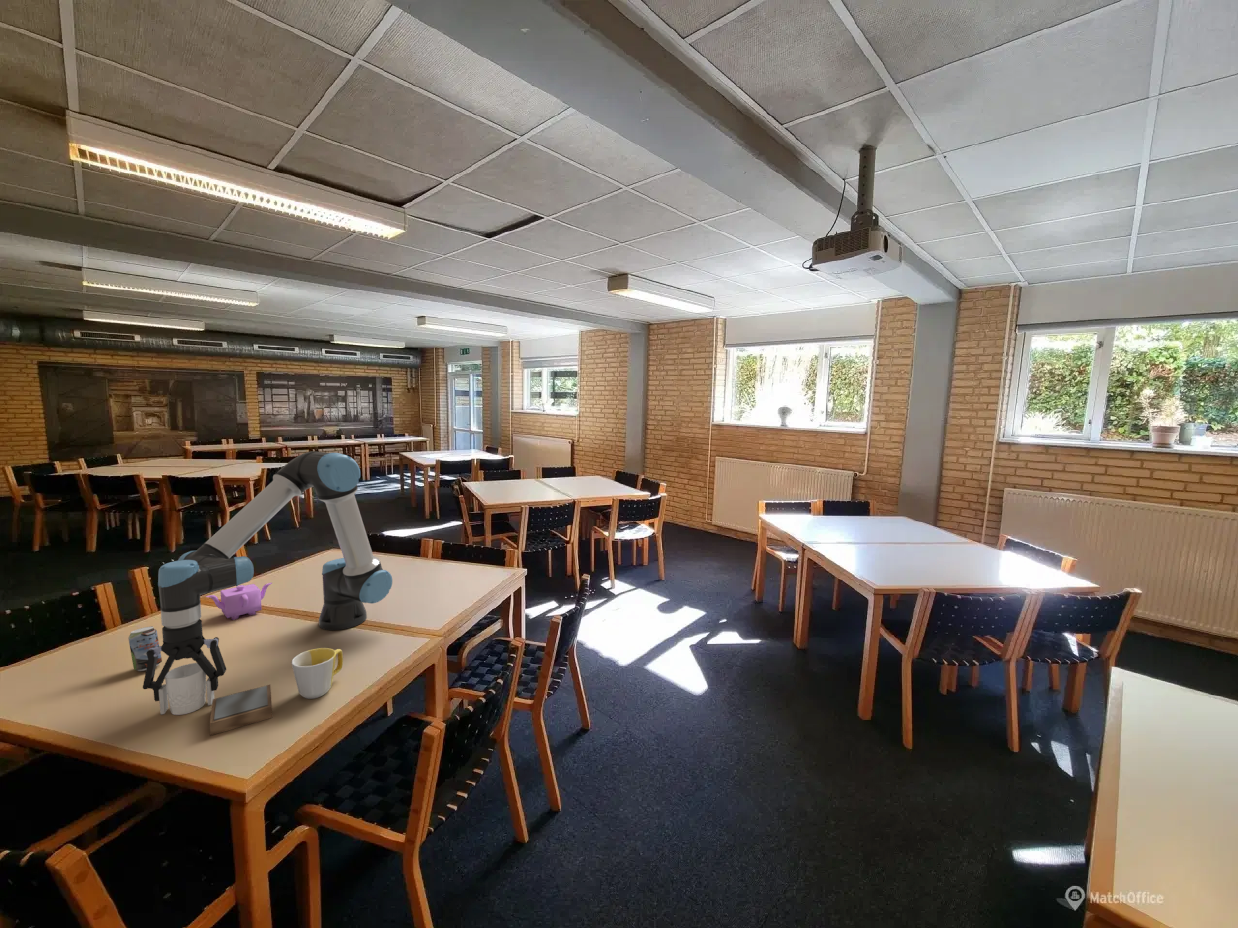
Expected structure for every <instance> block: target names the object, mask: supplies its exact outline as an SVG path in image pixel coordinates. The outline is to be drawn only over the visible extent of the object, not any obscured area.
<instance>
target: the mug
mask: <svg viewBox="0 0 1238 928" xmlns="http://www.w3.org/2000/svg"><path fill="white" fill-rule="evenodd" d="M343 655H344V654H343V650H342V649H340V648H337V649H333V648H330V647H329V648H328V647H320V648H319V647H318V648H314V649H309V650H305V651H303V652H301V653H299V654H297V655H296V656H294V657H293V659H292V660H291V667H292V671H293V675H294V679H295V684H296V686H297V690H298V694H299V695H300V696H301V697H303V698H304V699H307V700H308V699H309V700H310V699H317V698H320V697H323V696H324V695H326V694H327V693H328V691H330V689H331V688H332V686H333V680H334V676H335V675H337V674H338V673H339V672H340V671H341V670H342V668H343V663H344V657H343ZM336 660H337V665H336ZM335 665H336V666H335Z"/></svg>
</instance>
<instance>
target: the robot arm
mask: <svg viewBox="0 0 1238 928" xmlns="http://www.w3.org/2000/svg"><path fill="white" fill-rule="evenodd" d="M360 478H361V469H360V466H359V464H358V463H357V462H356V460H355V459H354V458H352V457H351V456H349V455H346V454H343V453H339V452H323V451H315V450H313V451H307V452H303V453H302V454H300V455H298V456H296V457H295V458H293V459H291V460H290V461H289V462H288V463H286V464H285V465H284V466H283V467H281V468H280V469H279V470H278V471H277V472H276V473H275V474H273V476H272V481H271V482H270V483H269V484H268V485H267V486H266V487H264V488H263V489H262V490H261V491H260V492H259V493H258V494H257V495H256V496H255V497H254V498H253V499H251V501H249V502H248V503H247V504H246V505H245V506H243V508H242V509H240V510H239V511H238V512H237V513H236V514H235V515H234V516H233V517H232V518H231V519H229V521H227V522H226V523H225V524H224V525H223V526H222V527H221V528H220V529H218V531H216V532H215V534H214V533H213V535H212V536H211V537H210V538H209V539H208V540H206V541H205V542H204V543H203V544H202V545H201V546H199V548H198V549H197V550H190V551H188V552H185V553H183V554H182V555H181V556H180V557H178V560H175V561H171V562H167V563H164V564H163V565H161V566H159V567H160V568H159V569H158V575H157V577H158V580H157V581H158V582H157V586H158V592H159V593H158V594H159V602H160V616H161V617H160V620H161V626H162V628H161V630H162V631H161V632H162V645H159V647H155V646H153V647H151V648H150V649H149V650H148V651H147V653H146V654H147V657H148V664H147V669H146V670H145V674H144V679H143V683H142V684H143V685H142V689H143V690H153V699H154V701H155V702H159V711H160V715H165V714H166V712H167V711H168V710H169V700H168V695H167V688H166V683H164V681H165V676H166V674H167V673H168V672H169V671H170V670H171V668H172V667H173V664H174V662H175V661H180V660H183V659H185V660H186V659H187V660H188V659H192V660H193V661H194V662H195V663H197V664H198V665H199V666H200V667H201V669H202V670H203V671H204V672H205V674H206V677H208V678H207V679H206V698H207V701H206V702H207V706H212V702H213V699H215V691H217V689H218V687H219V677H222V676H224V675H225V673H226V671H227V667H226V664H225V661H224V658H223V656H222V652H221V649H220V648H219V647H220V646H219V642H220V641H219V640H220V638H219V637H218V636H217V637H216V636H215V637H214V638H207V639H206V638H205V637H204V635H203V634H204V633H203V620H202V604H201V596H202V595H207V594H210V593H213V592H218V591H221V590H226V589H230V588H234V587H237V586H239V585H244V584H246V583H248V582H250V581H252V579H253V578H254V573H255V571H254V564H253V562H252V561H251V559H250V558H249V557H247V556H243V555H242V556H234V555H235V554H236V553H237V552H238V551H239V550H240V549H241V548H243V546H244V545H246V544H247V542H248V541H249V540H250V539H252V537H254V536H255V534H257V532H259V531H260V530H261V529H262V528H263V527H264V526H265V525H266V524H267V523H268V522H269V521H270V520H271V519H273V517H275V515H277V513H278V512H279V511H281V510H282V509H283V508H284V507H285V506H286V505H287V504H288V503H289V502H290V501H291V500H292V499H293V498H294V497H299V496H301V495H302V494H303V493H304V492H305V491H306V490H308V489H310V488H314V491H315V494H316V498H317V499H318V501H321V502H324V503H325V506H326V509H327V512H328V515H329V518H330V522H331V524H332V527H333V530H334V534H335V537H336V539H337V542H338V546H339V548H340V551H341V553H342V558H341V557H340V558H335V559H332V560H330V561H327V562H325V563H324V564H323V565H322V570H321V571H322V572H321V575H322V590H323V591H322V592H323V606H322V609H321V612H320V615H319V618H318V626H319V628H320V629H321V630H326V631H341V630H346V629H351V628H354V627H355V626H356V627H357V626H359V625H361V624H362V623H364V622H365V621H366V620H367V618H368V617H367V615H368V614H367V610H366V607H365V606H364V604H376V603H379V602H380V601H382V600H384V599H385V598H386V597H387V595H389V593H390V590H391V589H392V585H393V575H392V574H391V573H390V572H389V571H388V570H387V569H383V566H382V564H381V561H380V560H381V559H380V558H379V557H378V556H375V555H374V554H373V550H372V547H371V545H370V541H369V538H368V534H367V531H366V528H365V525H364V522H363V518H362V515H361V512H360V509H359V505H358V502H357V499H356V495H355V494H356V493H357V491H358V483H359V480H360ZM363 621H364V622H363ZM204 645H205V646H206V648H207V649H209V653H210V656H211V659H212V660H213V664H214V666H213V664H212V663H211V661H210V660H209V658H208V657H207V656H206V655H205V654H204V650H203V649H202V648H203V646H204ZM161 652H163V654H165V655H166V656H168V657H167V659H166V660H165V663H164V665H163V667H162V669H161V671H160V673H159V675H158V676H157V678H156V681H155V680H154V678H155V674H156V669H157V666H156V665H157V660H158V655H159V654H160V653H161Z"/></svg>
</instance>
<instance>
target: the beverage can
mask: <svg viewBox="0 0 1238 928" xmlns="http://www.w3.org/2000/svg"><path fill="white" fill-rule="evenodd" d="M128 644H129V649H130V650H129V651H130V655H131V659H132V660H131V662H132V667H133V670H134V671H138V672H144V671H146V669H147V664H148V657H147V654H146V653H147V651H148V650H149V649H150V648H151V647H153V646H155V647H159V646H160V641H159V637H158V631H157V629H156V628H155V627H154V626H151V625H150V626H145V627H140V628H137V629H134V630H132V631H130V635H128ZM162 662H163V658H162V654H161V653H160V654H159V655H158V660H157V665H156V667H158V666H160V663H162Z"/></svg>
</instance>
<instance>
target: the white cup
mask: <svg viewBox="0 0 1238 928" xmlns="http://www.w3.org/2000/svg"><path fill="white" fill-rule="evenodd" d="M164 681H165V684H166V688H167V696H168V705H169V710H170V713H171V714H172V715H175V716H182V715H187V714H190V713H193V712H196V711H197V710H200V709H201V708H202V707H203V706H205V704H206V702H207V701H206V698H207V686H206V681H207V675H206V674H205V672H204V671H203V670H202V669H201V667H200V666H199V665H198V664H197V662H193V663H187V664H183V665H179V666H177V667H175V668H172V669H170V670H169V672H168V673H167V674H166V676H165V679H164Z"/></svg>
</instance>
